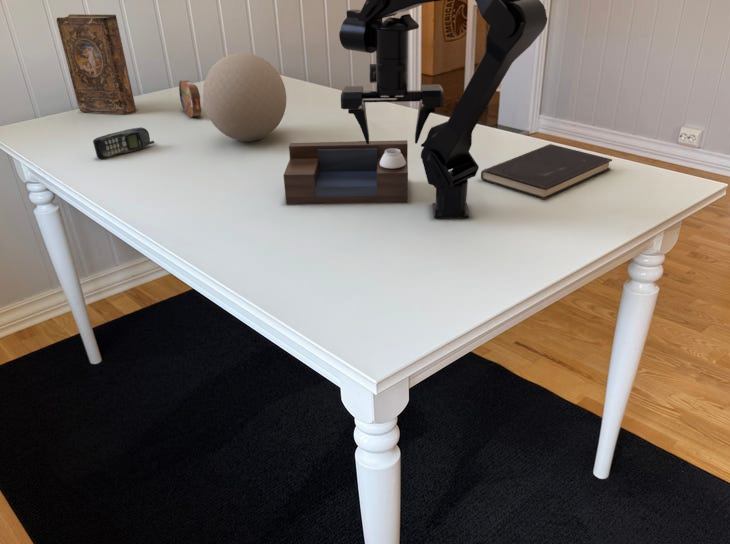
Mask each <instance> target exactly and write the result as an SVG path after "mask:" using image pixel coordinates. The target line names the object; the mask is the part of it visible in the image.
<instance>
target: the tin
mask: <svg viewBox="0 0 730 544" xmlns="http://www.w3.org/2000/svg"><path fill="white" fill-rule="evenodd" d="M178 84H179V85H178V91H179V92H178V93H179V99H180V103H181V104H180V105H181V108H182V110H183V112H184V113H185V114H187V116H188V117H190V118H196V117H200V116H201V115H202V107H201V95H200V94H201V93H200V91H199V87H197V85H196V84H194V83H193V82H192V81H191V80H180V81H179V83H178Z"/></svg>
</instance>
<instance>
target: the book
mask: <svg viewBox="0 0 730 544" xmlns="http://www.w3.org/2000/svg"><path fill="white" fill-rule="evenodd" d="M56 25H57V29H58V32H59V36H60V40H61V45H62V49H63V51H64V55H65V60H66V64H67V67H68V72H69V75H70V79H71V83H72V87H73V92H74V95H75V99H76V104H77V106H78V109H79V110H80V112H82V113H88V114H89V113H90V114H107V115H109V114H110V115H125V116H126V115H130V114H133V113H135V112H136V111H137V107H136V103H135V98H134V94H133V89H132V85H131V84H132V83H131V79H130V75H129V70H128V66H127V61H126V55H125V51H124V45H123V42H122V37H121V34H120V27H119V23H118V18H117V14H90V13H89V14H88V13H87V14H84V13H83V14H79V13H78V14H74V13H73V14H72V13H71V14H68V15H67V16H66V17H65V16H64V17H62V16H61V17H59V16H58V17H57V18H56Z"/></svg>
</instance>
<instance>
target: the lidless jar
mask: <svg viewBox="0 0 730 544" xmlns="http://www.w3.org/2000/svg"><path fill="white" fill-rule="evenodd" d="M405 164H406V161H405V159H404V157H403V155H402V154H401V151H400V150H399V149H387V150H385V154H383V156H382V158H381V160H380V166H382V167H384V168H388V169H397V168H400V167H402V166H404V165H405Z"/></svg>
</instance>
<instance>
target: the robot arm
mask: <svg viewBox="0 0 730 544" xmlns="http://www.w3.org/2000/svg"><path fill="white" fill-rule="evenodd" d="M441 1H442V0H365V2H364V4H363V6H362V8H361V9H359V8H353V9H348V10H346V18H345V19H344V20H343V21H342V23H341V26H340V31H339V34H338V37H339V42H340V44H341V46H342V47H343V49H345V50H346V51H347V50H348V51H355V52H359V53H368V54H373V53H375V63H370V64H369V83H370V84H376V87H375V88H376V91H374V90H373V91H364V85H348V86H344V87H343V88H342V90H341V93H340V109H342V110H347V113H348V114H349V115H353V116H354V118H355V119H356V121H357V123H358V125H359V127H360V129H361V132H362V134H363V137H364V141H366V143H367V144H369V141H370V131H369V123H368V117H367V108H366V103H398V102H399V103H403V102H406V103H407V102H408V103H409V102H418V103H419V104H418V110H417V117H416V124H415V132H414V144H418V142H419V139H420V137H421V135H422V131H423V129H424V126H425V124H426V122H427V120H428V118H429V116H430V114H431V113H436V112H437V108H443V107H444V88H443V87H442V85H441V84H421V86H420V87H421V88H420V89H419V90H417V89H416V90H408V89H409V31H414V30H417V29H419V27H420V25H419V23H418V22H417V21H416V20H415V19H414V18H413V17H412V15H411V13H406V14H402V15H401V16H400V17H393V16H396V15H397V14H400V13H403V12H408V11H410V10H413V9H415V8H418V7H420V6H422V5H424V4H426V3H432V2H433V3H434V2H441ZM474 1H475V3H476V6H477V8H478V11H479V13H480V16H481V17H482V19H483V20H484V21H485V22H486V24H487V25H489V26H488V29H487V31H486V36H485V37H486V38H485V50H484V53H483V55H482V57H481V59H480V61H479V63H478V64H477V67H476V69H475V70H474V72H473V74H472V76H471V78H470V79H469V82H468V83H467V85H466V87H465V89H464V91H463V92H462V94H461V96H460V98H459V100H458V102H457V104H456V105H455V107H454V109H453V111H452V113H451V115H450V117H449V119H448V120H447V121H445V122H441V123H440V124H437V125H434V126H432V127H430V129H429V131H428V132H427V136H426V138H425V140H424V142H422V143H421V144H420V147H421V148H422V149H421V152H420V159H421V161H422V164H423V169H424V172H425V177H426V180H427V184H428V185H429V186H430V185H431V186H433V187H434V188H435V202H433V203H432V214H433V218H434V219H469V218H470V212H469V211H470V210H469V207H468V206H469V205H468V203H467V200H468V182H469V180H470V179H471V178H475V177H476V175H477V174H478V171H479V169H480V167H479V165H478V163H477V162H476V160H475V159H474V157H473V156H472V154H471V153H470V150H471V148H472V144H473V143H472V142H473V140H472V139H473V137H472V136H473V131H474V130H475V127H476V126H477V124H478V122H479V121H480V119H481V117H482V115H483V114H484V112H485V111H486V109H487V107H488V106H489V104H490V102H491V101H492V99H493V97H494V96H495V93H496V92H497V90H498V88H499V86H500V85H501V83H502V81H503V80H504V77H506V76H507V75H506V74H508V71H509V70H510V68H511V66H512V64H513V63H514V62H515V61H516V60H517V59H518V58H519V57H520V56H522V54H523V53H525V51H527V50H528V49H529V48H530V47H531V46H532V44H533V43H534V42H535V41H536V40H537V39H538V37H539V36H540V35H541V34H542V33H543V31H544V30H545V28H546V25H547V24H548V17H547V10H546V7H545V5H544V4H543V2H542V1H541V0H474ZM385 18H386V19H385ZM383 19H385V20H383Z"/></svg>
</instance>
